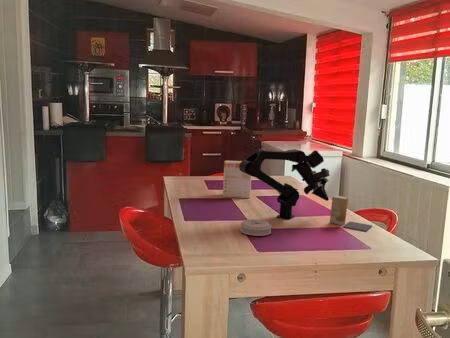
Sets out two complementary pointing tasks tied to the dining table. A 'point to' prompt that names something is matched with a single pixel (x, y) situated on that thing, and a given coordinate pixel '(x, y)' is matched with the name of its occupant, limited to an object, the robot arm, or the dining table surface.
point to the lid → (255, 227)
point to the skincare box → (338, 210)
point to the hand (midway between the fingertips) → (327, 200)
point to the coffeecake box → (235, 181)
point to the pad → (357, 226)
